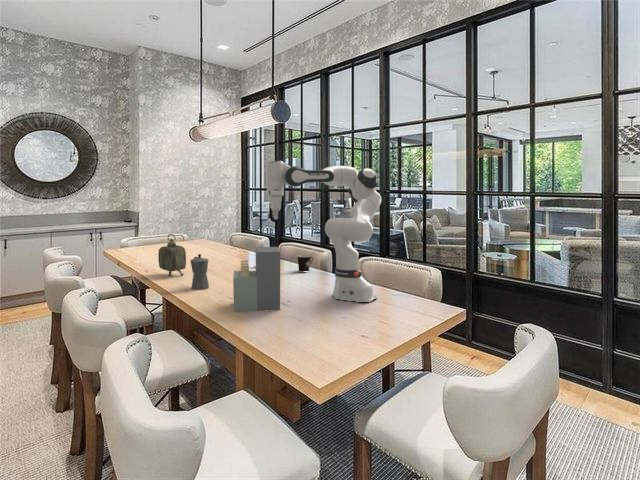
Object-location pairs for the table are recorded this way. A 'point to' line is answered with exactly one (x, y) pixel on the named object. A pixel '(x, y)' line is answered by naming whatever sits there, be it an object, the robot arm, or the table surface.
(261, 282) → the step stand
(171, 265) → the tabletop clock
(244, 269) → the batten
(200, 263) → the coffeepot
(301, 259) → the coffee mug
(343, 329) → the table surface
